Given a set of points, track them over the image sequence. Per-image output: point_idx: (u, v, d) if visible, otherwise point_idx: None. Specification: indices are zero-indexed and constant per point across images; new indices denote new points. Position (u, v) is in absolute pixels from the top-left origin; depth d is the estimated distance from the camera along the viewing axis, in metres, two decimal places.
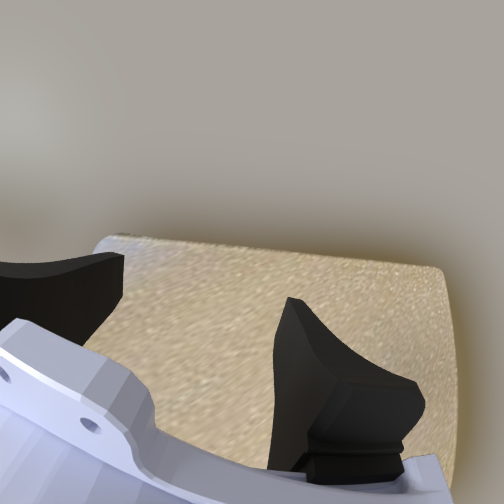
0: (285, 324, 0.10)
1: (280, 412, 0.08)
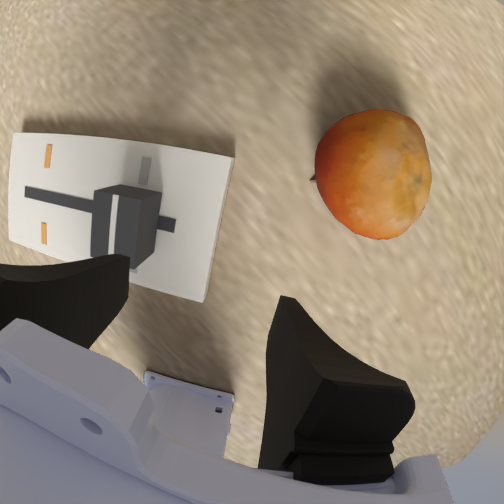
0: (277, 322, 0.10)
1: (271, 411, 0.08)
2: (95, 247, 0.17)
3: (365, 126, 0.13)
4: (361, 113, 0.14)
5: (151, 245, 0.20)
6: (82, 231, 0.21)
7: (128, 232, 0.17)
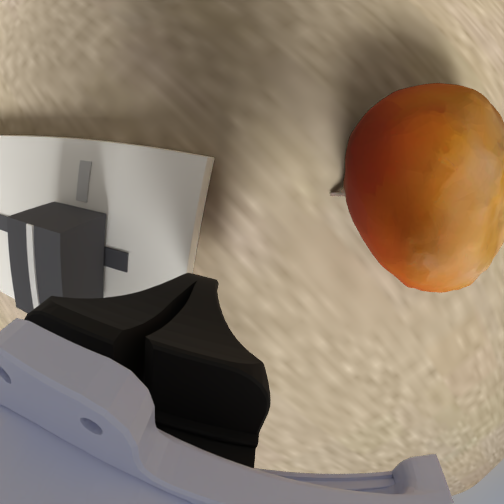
0: None
1: None
2: (19, 296, 0.10)
3: (443, 106, 0.06)
4: (424, 86, 0.07)
5: (95, 291, 0.12)
6: None
7: (51, 280, 0.09)
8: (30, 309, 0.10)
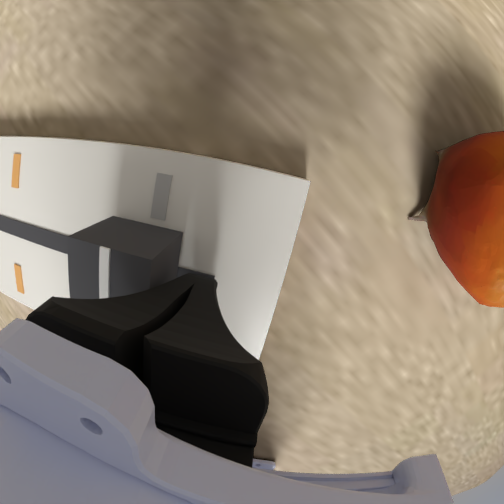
0: None
1: None
2: None
3: None
4: None
5: None
6: None
7: None
8: None
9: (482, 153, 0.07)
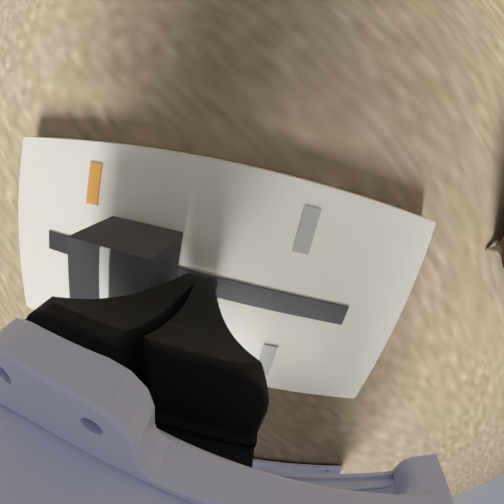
0: None
1: None
2: None
3: None
4: None
5: None
6: None
7: None
8: None
9: None
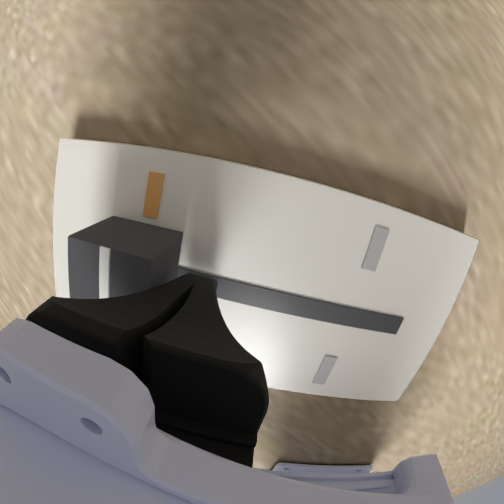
0: None
1: None
2: None
3: None
4: None
5: None
6: (233, 332, 0.14)
7: None
8: None
9: None
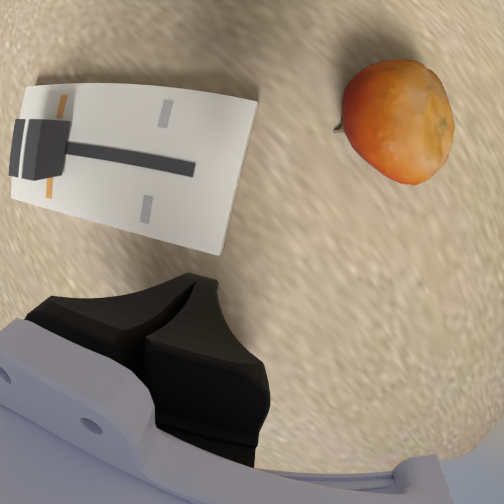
0: None
1: None
2: (12, 166, 0.16)
3: (393, 67, 0.12)
4: (386, 61, 0.13)
5: (57, 166, 0.18)
6: (92, 180, 0.19)
7: (32, 147, 0.15)
8: (16, 172, 0.16)
9: (364, 71, 0.13)
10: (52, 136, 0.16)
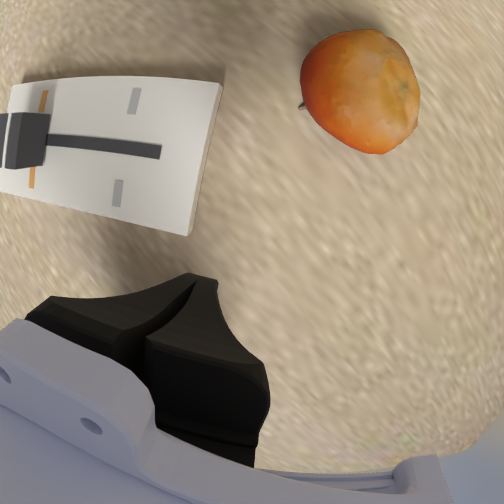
0: None
1: None
2: None
3: (345, 35, 0.11)
4: (342, 32, 0.13)
5: (37, 157, 0.18)
6: (69, 168, 0.19)
7: (14, 139, 0.15)
8: (0, 163, 0.16)
9: (320, 43, 0.13)
10: (32, 128, 0.16)
